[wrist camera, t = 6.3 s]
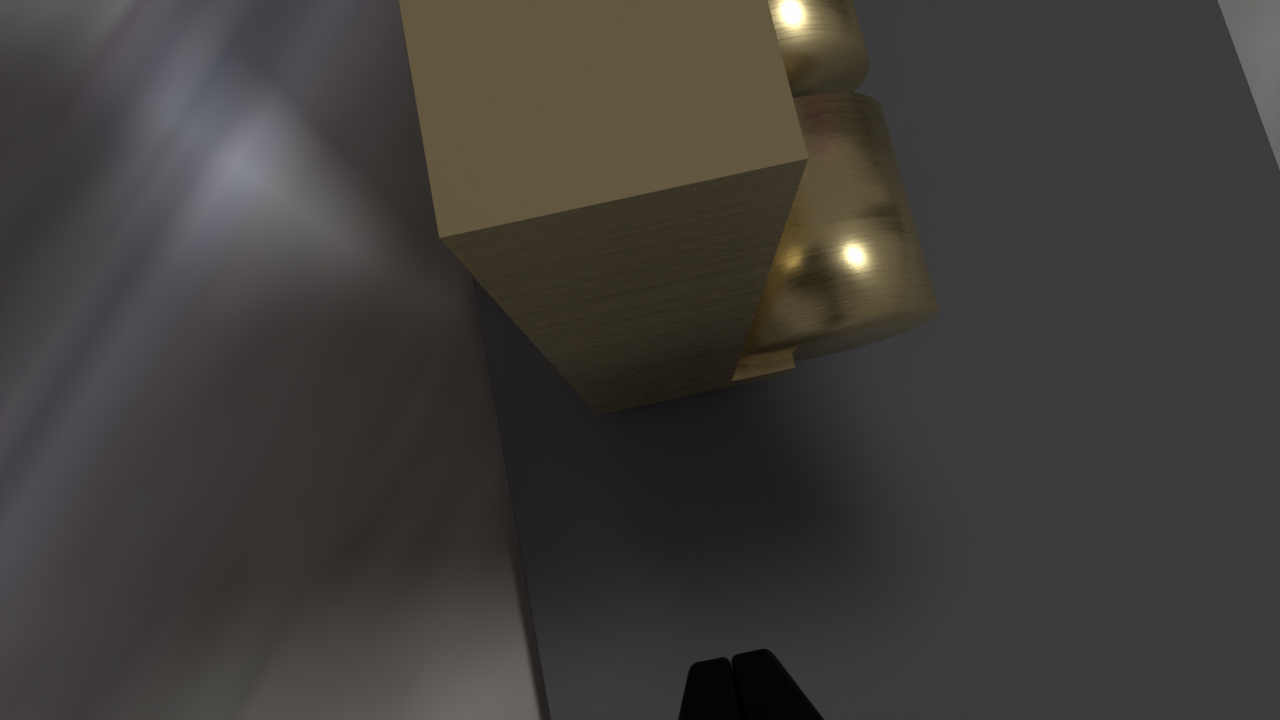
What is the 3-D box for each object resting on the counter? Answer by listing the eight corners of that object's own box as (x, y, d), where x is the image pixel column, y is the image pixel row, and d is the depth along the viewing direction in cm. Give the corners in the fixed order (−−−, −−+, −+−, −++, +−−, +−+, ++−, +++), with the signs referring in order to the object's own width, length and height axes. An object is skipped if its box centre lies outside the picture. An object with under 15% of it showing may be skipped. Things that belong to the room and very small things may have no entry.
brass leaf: (912, 348, 15) (1322, 46, 5) (597, 415, 15) (439, 239, 6) (805, -49, 17) (976, -853, 7) (518, 15, 17) (280, -690, 7)
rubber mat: (1479, 770, 14) (1502, 777, 14) (596, 949, 15) (593, 961, 14) (1032, -464, 19) (1040, -485, 19) (371, -315, 19) (365, -332, 19)
